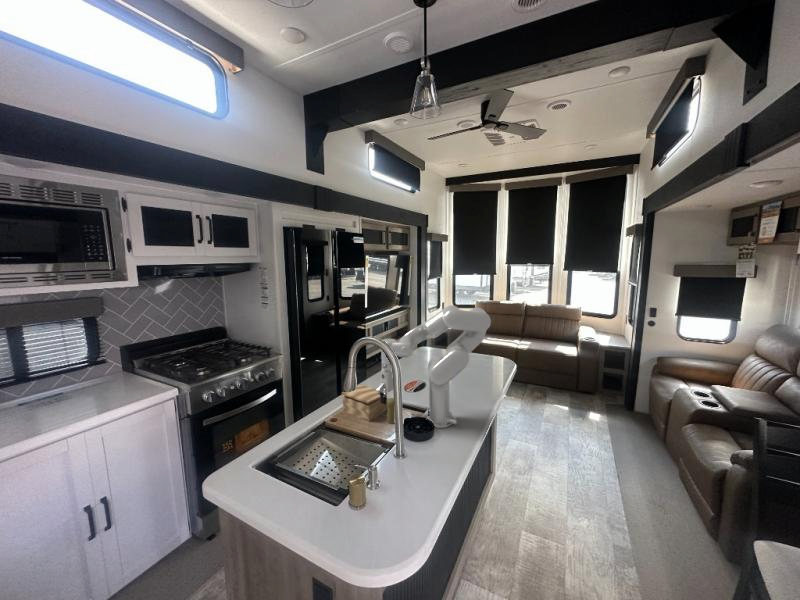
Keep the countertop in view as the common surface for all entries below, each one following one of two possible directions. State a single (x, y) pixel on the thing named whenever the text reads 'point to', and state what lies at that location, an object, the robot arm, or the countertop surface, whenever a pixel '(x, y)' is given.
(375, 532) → the countertop surface
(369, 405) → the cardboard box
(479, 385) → the countertop surface
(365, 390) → the box lid
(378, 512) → the countertop surface
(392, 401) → the tan tapered cylinder
